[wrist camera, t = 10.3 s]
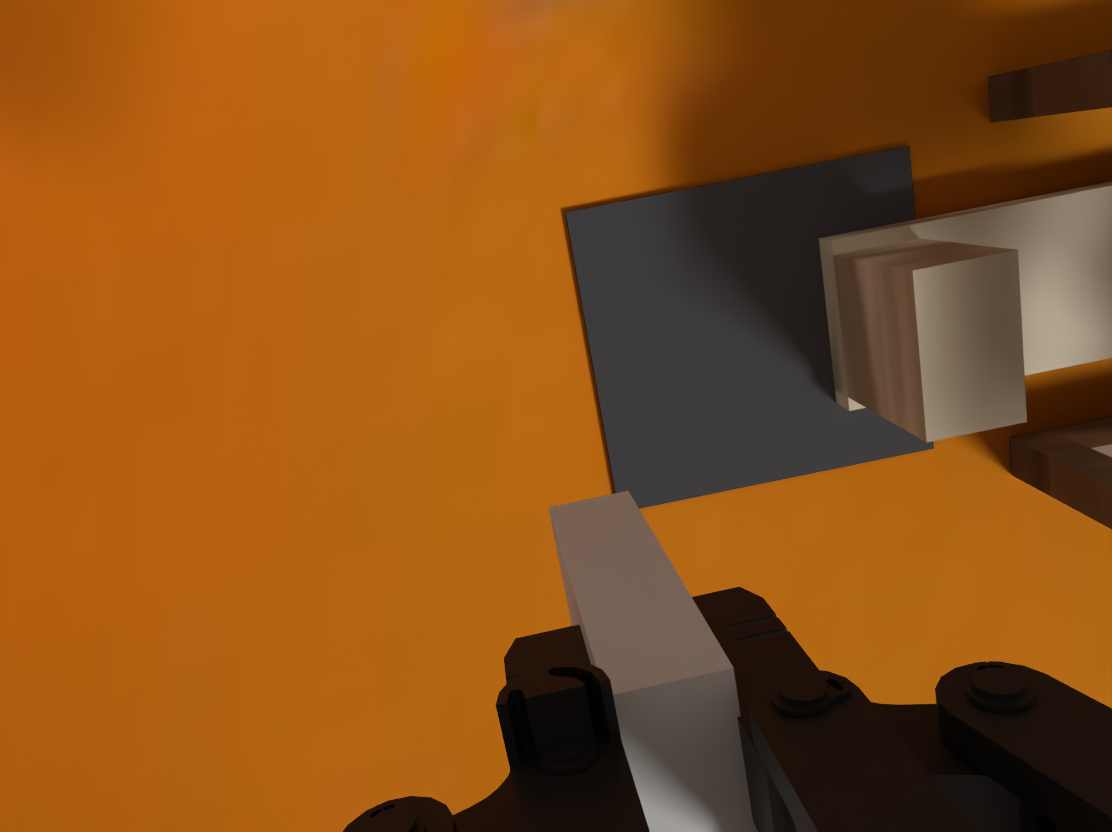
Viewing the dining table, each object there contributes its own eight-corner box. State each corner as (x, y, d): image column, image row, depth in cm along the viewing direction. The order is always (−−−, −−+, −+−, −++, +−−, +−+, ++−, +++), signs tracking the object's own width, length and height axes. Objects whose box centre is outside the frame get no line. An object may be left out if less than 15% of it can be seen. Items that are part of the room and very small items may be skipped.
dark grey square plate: (618, 511, 34) (619, 512, 33) (565, 212, 31) (565, 212, 31) (931, 447, 34) (933, 448, 34) (907, 146, 31) (909, 145, 31)
